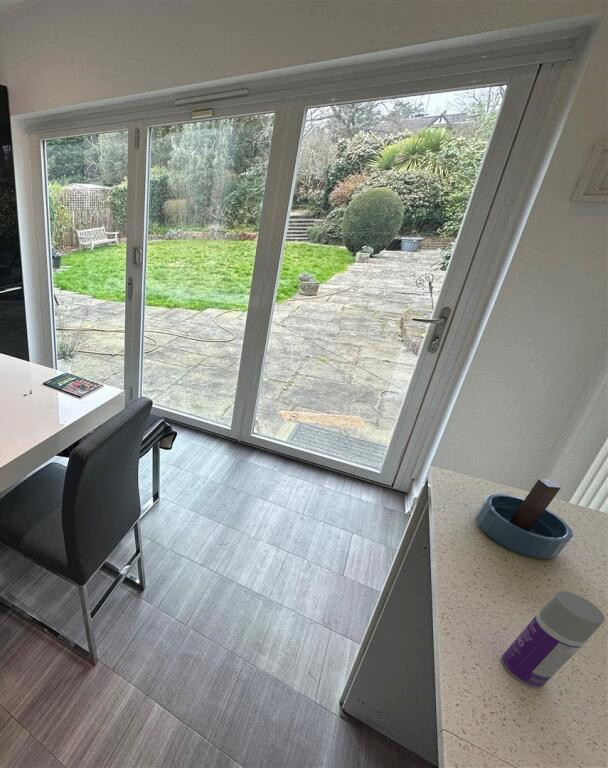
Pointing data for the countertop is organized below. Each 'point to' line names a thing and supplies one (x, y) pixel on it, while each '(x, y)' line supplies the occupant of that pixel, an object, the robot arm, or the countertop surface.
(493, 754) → the countertop surface
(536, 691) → the countertop surface
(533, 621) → the container
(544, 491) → the stirring stick
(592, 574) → the countertop surface
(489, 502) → the bowl
